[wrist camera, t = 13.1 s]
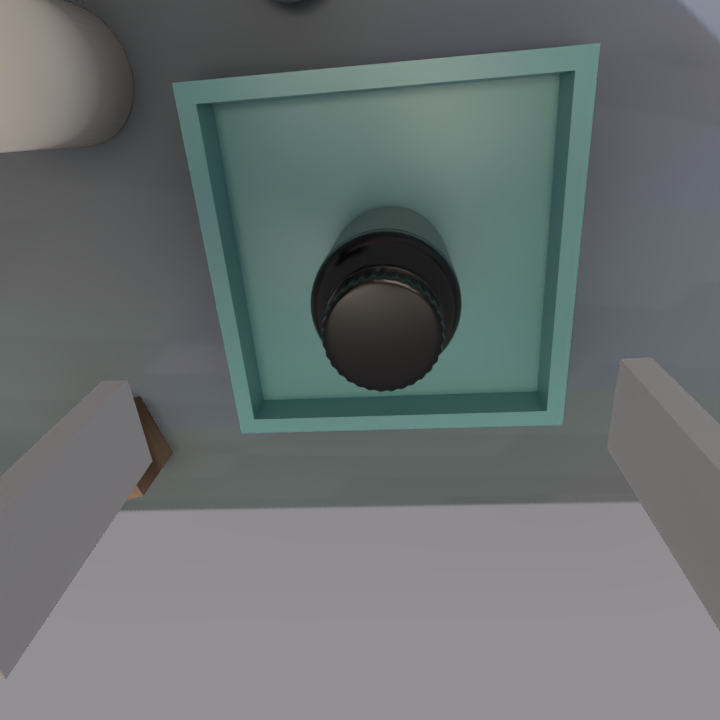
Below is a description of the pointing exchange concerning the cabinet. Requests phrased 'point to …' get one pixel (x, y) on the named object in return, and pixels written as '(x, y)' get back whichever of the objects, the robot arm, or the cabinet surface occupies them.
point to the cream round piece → (59, 77)
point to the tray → (405, 190)
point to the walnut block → (150, 449)
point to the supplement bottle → (386, 299)
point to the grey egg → (288, 1)
